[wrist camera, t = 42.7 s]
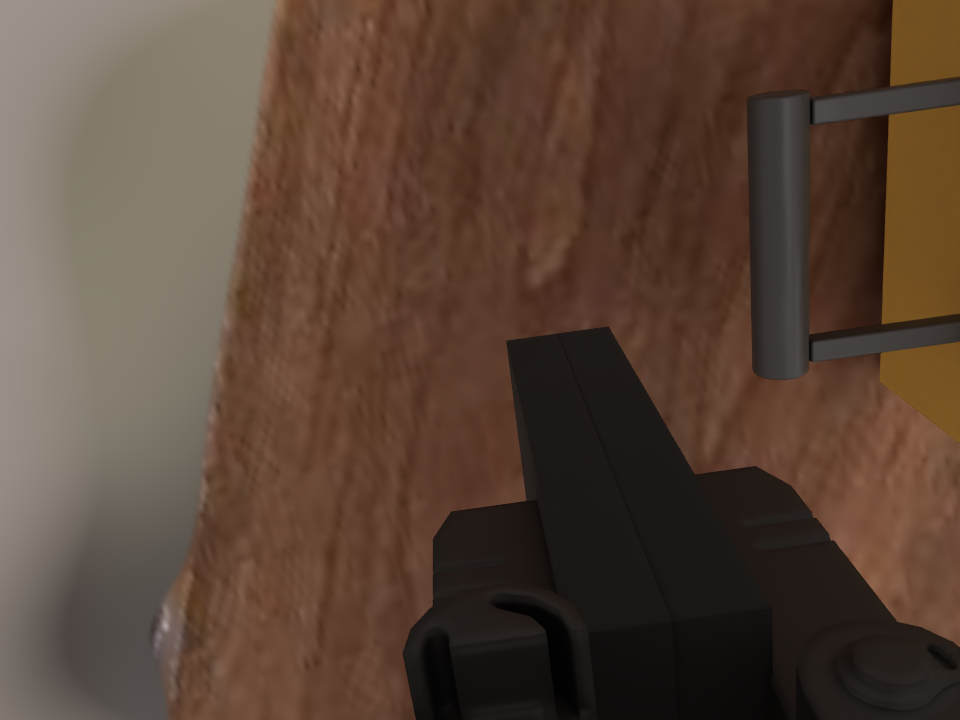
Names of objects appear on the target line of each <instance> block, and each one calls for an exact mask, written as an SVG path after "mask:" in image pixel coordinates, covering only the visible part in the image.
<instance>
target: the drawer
mask: <svg viewBox="0 0 960 720" xmlns="http://www.w3.org/2000/svg"><path fill="white" fill-rule="evenodd" d="M885 115H889V128H888V157H887V185H886V214H885V242H884V270H883V299H882V324H881V325H873V326H866V327H859V328H852V329H845V330H838V331H830V332H823V333H816V334H809V237H810V124H811V125H821V124H828V123H835V122H842V121H849V120H857V119H864V118H871V117H878V116H885ZM747 129H748V177H749V226H750V274H751V322H752V369H753V371H754V373H755V374H756V375H758V376H760V377H763V378H767V379H773V380H788V379H794V378H798V377H801V376H803V375H805V374H806V373H807V372H808V370H809V360H810V361H811V362H818V361H825V360H833V359H840V358H847V357H854V356H861V355H869V354H876V353H881V356H880V382H881V383H882V384H883V385H885V386H886V387H887V388H889V389H890V390H891V391H892V392H894V393H895V394H896V395H898V396H899V397H900V398H902V399H903V400H904V401H905V402H907V403H908V404H909V405H911V406H912V407H913V408H914V409H916V410H917V411H918V412H920V413H921V414H922V415H924V416H925V417H926V418H927V419H929V420H930V421H931V422H933V423H934V424H935V425H937V426H938V427H939V428H940V429H942V430H943V431H944V432H946V433H947V434H948V435H949V436H951V437H952V438H953V439H955V440H956V441H957V442H959V443H960V0H893V15H892V43H891V71H890V86H887V87H880V88H873V89H866V90H859V91H852V92H844V93H837V94H830V95H823V96H816V97H810V92H809V91H806V90H787V91H776V92H768V93H762V94H757V95H753V96H750V97H748V98H747Z"/></svg>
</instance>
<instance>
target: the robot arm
mask: <svg viewBox="0 0 960 720" xmlns="http://www.w3.org/2000/svg"><path fill="white" fill-rule="evenodd" d="M507 349H508V357H509V365H510V373H511V381H512V389H513V397H514V405H515V413H516V420H517V428H518V436H519V444H520V452H521V460H522V468H523V476H524V484H525V492H526V500H527V501H524V502H517V503H510V504H502V505H495V506H488V507H481V508H474V509H466V510H459V511H452V512H451V513H450V514H449V516H448V517H447V519H446V520H445V522H444V523H443V525H442V526H441V528H440V529H439V531H438V532H437V534H436V535H435V537H434V538H433V572H434V574H433V598H434V600H433V607H432V608H430V609H429V610H428V611H427V612H426V613H425V614H424V615H423V616H422V618H421V619H420V620H419V621H418V622H417V623H416V624H415V625H414V626H413V627H412V628H411V630H410V633H409V636H408V639H407V642H406V645H405V648H404V651H403V657H404V662H405V667H406V672H407V677H408V682H409V687H410V692H411V697H412V702H413V707H414V712H415V717H416V720H960V647H959V646H957V645H956V644H955V643H954V642H952V641H949V640H947V639H945V638H943V637H941V636H939V635H937V634H934V633H932V632H930V631H928V630H926V629H924V628H922V627H918V626H913V625H909V624H904V623H900V622H897V621H896V619H895V618H894V617H893V616H892V614H891V613H890V612H889V610H888V609H887V608H886V607H885V605H884V604H883V603H882V602H881V600H880V599H879V598H878V596H877V595H876V594H875V593H874V591H873V590H872V589H871V587H870V586H869V585H868V584H867V582H866V581H865V580H864V578H863V577H862V576H861V575H860V573H859V572H858V571H857V569H856V568H855V567H854V566H853V564H852V563H851V562H850V561H849V559H848V558H847V557H846V555H845V554H844V553H843V552H842V550H841V549H840V548H839V546H838V545H837V544H836V543H835V541H834V540H833V541H831V540H830V537H829V534H828V532H827V531H826V530H825V528H824V527H823V526H822V525H821V523H820V522H819V521H818V520H817V518H813V516H812V512H811V511H810V509H809V508H808V507H807V505H806V504H805V503H804V502H803V500H802V499H801V498H800V496H799V495H798V494H797V493H796V491H795V490H794V489H793V488H792V486H791V485H789V484H787V483H785V482H783V481H782V480H780V479H778V478H776V477H774V476H773V475H771V474H769V473H767V472H765V471H764V470H762V469H760V468H758V467H757V466H753V467H746V468H739V469H732V470H724V471H717V472H710V473H703V474H696V475H695V474H694V472H693V471H692V469H691V467H690V466H689V464H688V462H687V460H686V459H685V457H684V455H683V454H682V452H681V450H680V448H679V447H678V445H677V443H676V442H675V440H674V438H673V436H672V435H671V433H670V431H669V430H668V428H667V426H666V424H665V423H664V421H663V419H662V418H661V416H660V414H659V412H658V411H657V409H656V407H655V406H654V404H653V402H652V400H651V399H650V397H649V395H648V394H647V392H646V390H645V388H644V387H643V385H642V383H641V382H640V380H639V378H638V376H637V375H636V373H635V371H634V370H633V368H632V366H631V364H630V363H629V361H628V359H627V358H626V356H625V354H624V352H623V351H622V349H621V347H620V346H619V344H618V342H617V340H616V339H615V337H614V335H613V334H612V332H611V330H610V328H609V327H602V328H595V329H588V330H580V331H573V332H566V333H559V334H552V335H544V336H537V337H530V338H523V339H516V340H508V341H507Z"/></svg>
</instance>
